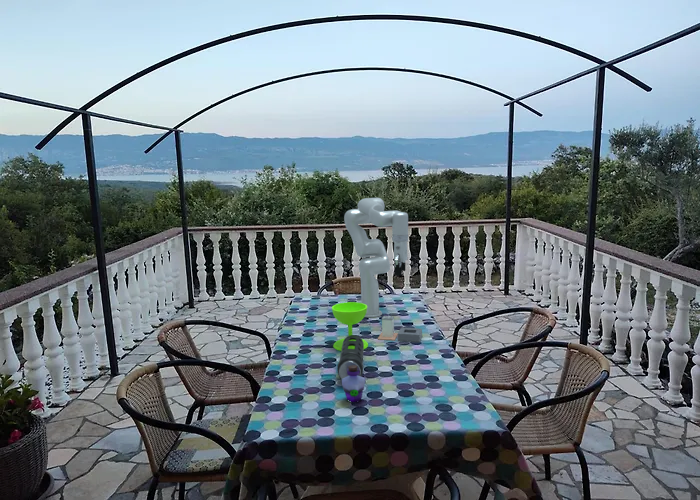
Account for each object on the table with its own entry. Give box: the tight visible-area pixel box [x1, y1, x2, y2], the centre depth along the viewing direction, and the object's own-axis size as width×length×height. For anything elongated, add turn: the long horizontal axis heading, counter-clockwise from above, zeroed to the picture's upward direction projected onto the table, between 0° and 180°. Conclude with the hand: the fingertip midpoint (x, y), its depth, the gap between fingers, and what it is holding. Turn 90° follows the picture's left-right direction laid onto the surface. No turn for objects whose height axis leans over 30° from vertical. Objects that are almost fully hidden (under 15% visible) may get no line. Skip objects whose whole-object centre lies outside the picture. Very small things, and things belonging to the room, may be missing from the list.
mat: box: [377, 332, 398, 342], centre depth 225 cm, size 8×9×1 cm
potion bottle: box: [341, 365, 366, 402], centre depth 163 cm, size 9×9×12 cm
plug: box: [381, 315, 395, 337], centre depth 224 cm, size 5×4×9 cm
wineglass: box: [331, 301, 369, 352], centre depth 214 cm, size 16×16×18 cm
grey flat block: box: [397, 327, 423, 343], centre depth 221 cm, size 10×9×4 cm
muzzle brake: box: [336, 334, 365, 380], centre depth 187 cm, size 10×28×10 cm, turn 177°
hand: (400, 272), depth 230 cm, fingers open, 9 cm apart
